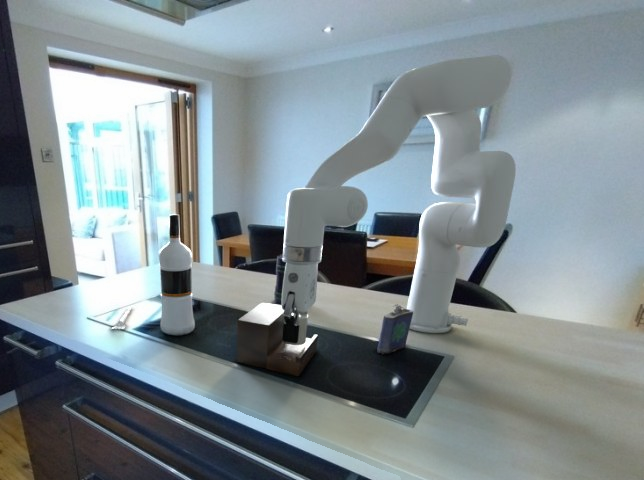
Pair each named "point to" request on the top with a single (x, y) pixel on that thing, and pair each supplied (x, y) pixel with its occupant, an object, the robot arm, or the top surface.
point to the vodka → (176, 283)
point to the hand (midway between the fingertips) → (294, 336)
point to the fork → (121, 321)
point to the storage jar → (279, 279)
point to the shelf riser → (271, 342)
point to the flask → (394, 330)
